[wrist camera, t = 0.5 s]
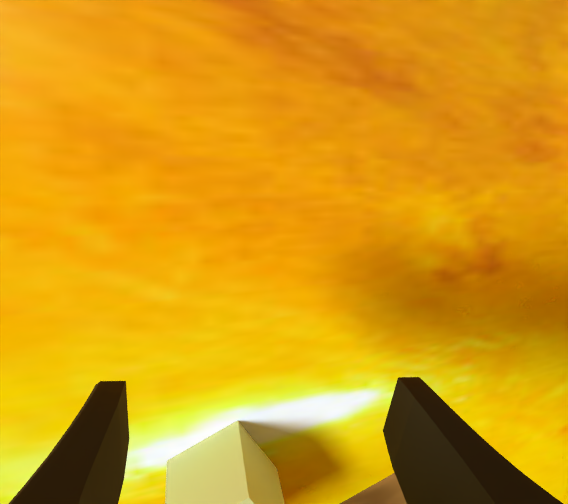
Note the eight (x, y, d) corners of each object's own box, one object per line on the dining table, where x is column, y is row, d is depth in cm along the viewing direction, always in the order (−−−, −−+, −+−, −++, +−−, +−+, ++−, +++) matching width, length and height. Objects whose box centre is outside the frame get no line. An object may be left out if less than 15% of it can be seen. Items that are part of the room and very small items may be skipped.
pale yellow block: (210, 505, 28) (216, 592, 24) (166, 460, 26) (163, 545, 22) (276, 467, 28) (294, 548, 24) (237, 419, 26) (248, 497, 22)
